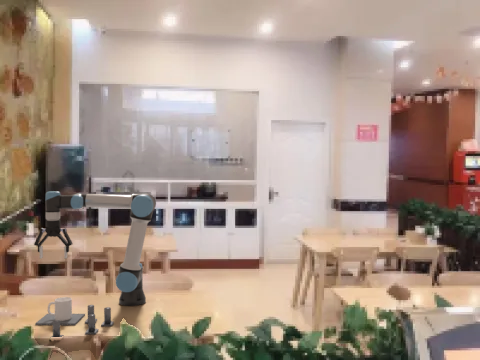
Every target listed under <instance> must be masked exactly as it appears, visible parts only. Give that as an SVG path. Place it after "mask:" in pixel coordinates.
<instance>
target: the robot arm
mask: <svg viewBox="0 0 480 360" xmlns="http://www.w3.org/2000/svg"><path fill="white" fill-rule="evenodd" d="M44 201H45V228H43V227H41V228H40V229H39V233H38V235H37V237H36V240H35V241H34V243H33V245H34V246H36V247H37V253H39V259H41V260H42V259H43V258H44V247H43V244H44V242H45V241H46V240H47V239H48V238H49V237H50V238H52V237H53V238H56V237H57V238H58V239H59V240H60V241H61V242H62V244H63V245H64V247H63V248H64V249H63V251H64V254H63V255H64V259H68V253H69V252H70V246H72V245H73V241H72V239H71V238H70V235H69V233H68V230H67V228H66V227H65V228H62V227H61V210H64V209H66V210H70V209H71V210H77V209H78V210H79V209H80V210H81V209H82V208H101V209H102V208H105V209H126V210H127V209H128V210H129V209H130V215H129V217H130V219H131V225H130V227H129V228H130V229H129V233H128V238H127V244H126V249H125V255H124V259H123V262H122V263H121V264H120V265H119V269H118V274H117V276H116V278H115V285H116V288H117V289H118V290H119V291H121V293H120V294H119V298H118V303H119V304H120V305H121V306H126V307H127V306H128V307H129V306H131V307H132V306H140V305H144V304H145V303H146V295H145V292H144V289H143V279H144V278H143V277H144V276H143V269H144V268H143V263H141V258H142V253H143V247H144V243H145V237H146V233H147V227H148V224H149V222H151V221H152V217H153V213H154V210H155V208H156V205H157V201H156V198H155V197H154V196H153V195H152V194H150V193H145V192H144V193H132V195H125V194H123V195H122V194H103V193H99V194H98V193H82V192H76V193H72V194H65V195H64V194H61V192H60V191H57V190H56V191H54V190H53V191H52V190H51V191H47V192H46V193H45V200H44ZM61 232H62V233H63V235H62V234H61ZM44 233H46V234H44ZM43 234H44V237H43ZM63 236H64V237H63ZM42 237H43V238H42Z"/></svg>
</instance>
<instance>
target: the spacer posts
mask: <svg viewBox="0 0 480 360" xmlns="http://www.w3.org/2000/svg"><path fill="white" fill-rule="evenodd" d="M111 309H112V308H111V307H109V306H107V307H104V309H103V311H104V312H103V314H104V315H103V317H104V318H103V320H104V321H103V322H102V323H101V328H102V327H105V328H106V327H107V328H108V327H112V326H113V325H114V324H115V321H113V320H112V310H111ZM97 322H98V318H96V314H95V305H94V304H88V305H87V318H86V319H85V321H84V324H85V325H88V327H87V328H88V329H87V330H86V331H85V332H84V335H97V334H98V332H99V328H96V323H97ZM62 336H64V337H65V335H63V334H61V325H60V320H54V321H53V325H52V336H51V337H62Z"/></svg>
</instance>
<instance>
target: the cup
mask: <svg viewBox="0 0 480 360" xmlns="http://www.w3.org/2000/svg"><path fill="white" fill-rule="evenodd" d="M72 304H73V300H72V297H68V296H63V297H56V298H55V299H54V301H50V302H49V303H48V305H47V314H50V315H52V316H55V320H60V321H66V320H70V319H71V318H72V314H73V310H72V309H73V307H72V306H73V305H72ZM51 305H54V312H51Z"/></svg>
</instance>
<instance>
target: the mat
mask: <svg viewBox="0 0 480 360" xmlns="http://www.w3.org/2000/svg"><path fill="white" fill-rule="evenodd" d="M85 316H86V313H72V318H71V319H70V320H66V321H60V326H76V325H77V324H78V323H80V321H81V320H82V319H83V318H84V317H85ZM54 320H55V316H52V315H50V314H49V313H45V315H43V317H41V318H40V319H39V320H37V321H36V322H35V323H34V325H35V326H53V321H54Z"/></svg>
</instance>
